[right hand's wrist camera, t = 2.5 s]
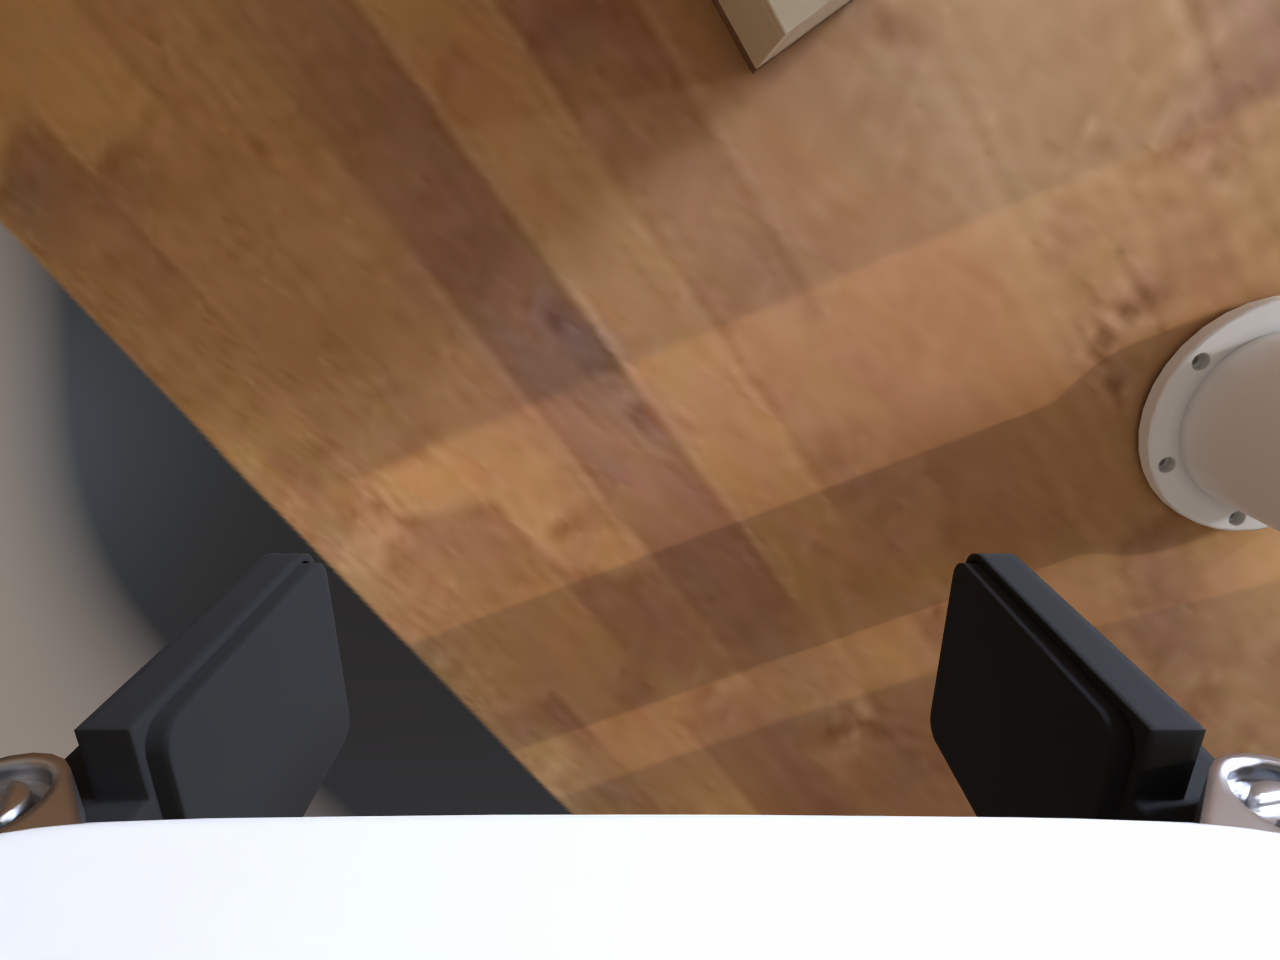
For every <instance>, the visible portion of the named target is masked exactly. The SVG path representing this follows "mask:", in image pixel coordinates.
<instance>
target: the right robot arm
mask: <svg viewBox="0 0 1280 960" xmlns="http://www.w3.org/2000/svg"><path fill="white" fill-rule="evenodd" d="M1138 451H1139V456H1140V461H1141V465H1142V470H1143V472H1144V474H1145V477H1146V479H1147V481H1148V483H1149V485H1150V487H1151V488H1152V490H1153V491H1154V492H1155V493H1156V494H1157V496H1158V497H1159V498H1160V499H1161V501H1162V502H1164V503H1165V504H1166V505H1168V506H1169V507H1170V508H1172V509H1173V510H1174V511H1176V512H1177V513H1179V514H1181V515H1182V516H1184V517H1186V518H1188V519H1190V520H1192V521H1194V522H1195V523H1198V524H1201V525H1204V526H1208V527H1211V528H1214V529H1220V530H1227V531H1246V530H1259V529H1263V528H1268V527H1272V528H1274V529H1276V530H1278V531H1280V295H1279V296H1272V297H1268V298H1264V299H1260V300H1256V301H1253V302H1249V303H1247V304H1245V305H1242V306H1240V307H1238V308H1235V309H1233V310H1231V311H1229V312H1226V313H1224V314H1223V315H1221V316H1220V317H1218V318H1217V319H1215V320H1213V321H1212V322H1210V323H1209V324H1207V325H1206V326H1204V327H1203V328H1201V329H1200V330H1199V331H1198V332H1197V333H1196V334H1194V335H1193V336H1192V337H1191V338H1190V339H1189V340H1188V341H1186V342H1185V343H1184V344H1183V345H1182V346H1181V347H1180V348H1179V350H1178V351H1177V352H1176V353H1175V354H1174V355H1173V357H1172V358H1171V359H1170V360H1169V361H1168V363H1167V364H1166V365H1165V366H1164V368H1163V370H1162V371H1161V373H1160V375H1159V376H1158V378H1157V379H1156V381H1155V383H1154V384H1153V386H1152V388H1151V391H1150V393H1149V396H1148V398H1147V400H1146V403H1145V405H1144V408H1143V412H1142V417H1141V422H1140V426H1139V449H1138ZM349 721H350V717H349V709H348V702H347V696H346V690H345V684H344V677H343V671H342V665H341V659H340V653H339V647H338V640H337V634H336V628H335V622H334V616H333V609H332V603H331V597H330V591H329V585H328V578H327V573H326V569H325V567H324V566H323V565H322V564H321V563H314V560H313V559H312V557H311V556H310V555H309V554H266V555H264V556H263V557H262V558H261V559H260V560H258V561H257V562H256V563H255V564H254V565H253V566H252V567H251V568H250V569H249V570H248V571H247V572H245V573H244V574H243V575H242V576H241V577H240V578H239V579H238V580H237V581H236V582H235V583H234V584H232V585H231V586H230V587H229V588H228V589H227V590H226V591H225V592H224V593H223V594H222V595H220V596H219V597H218V598H217V599H216V600H215V601H214V602H213V603H212V604H211V605H210V606H209V607H207V608H206V609H205V610H204V611H203V612H202V613H201V614H200V615H199V616H198V617H197V618H195V619H194V620H193V621H192V622H191V623H190V624H189V625H188V626H187V627H186V628H185V629H184V630H182V631H181V632H180V633H179V634H178V635H177V636H176V637H175V638H174V639H173V640H172V641H170V642H169V643H168V644H167V645H166V646H165V647H164V648H163V649H162V650H161V651H160V652H159V653H157V654H156V655H155V656H154V657H153V658H152V659H151V660H150V661H149V662H148V663H147V664H146V665H144V666H143V667H142V668H141V669H140V670H139V671H138V672H137V673H136V674H135V675H134V676H132V677H131V678H130V679H129V680H128V681H127V682H126V683H125V684H124V685H123V686H122V687H121V688H119V689H118V690H117V691H116V692H115V693H114V694H113V695H112V696H111V697H110V698H109V699H107V700H106V701H105V702H104V703H103V704H102V705H101V706H100V707H99V708H98V709H97V710H96V711H94V712H93V713H92V714H91V715H90V716H89V717H88V718H87V719H86V720H85V721H84V722H82V723H81V724H80V725H79V726H78V727H77V728H76V729H75V730H74V731H75V734H76V738H77V741H78V744H79V746H78V747H77V748H76V749H75V750H74V751H73V752H72V753H71V754H70V755H69V756H68V757H67V758H66V759H63V758H61V757H58V756H56V755H53V754H46V753H27V754H20V755H12V756H7V757H4V758H0V960H1280V758H1276V757H1273V756H1268V755H1261V754H1253V753H1234V754H1227V755H1224V756H1222V757H1219V758H1217V759H1214V758H1213V757H1212V756H1211V755H1210V754H1209V753H1208V752H1207V751H1206V750H1205V749H1204V748H1203V747H1202V746H1201V744H1202V741H1203V738H1204V734H1205V731H1206V730H1205V729H1204V728H1203V727H1202V726H1201V725H1200V724H1199V723H1198V722H1196V721H1195V720H1194V719H1193V718H1192V717H1191V716H1190V715H1189V714H1188V713H1187V712H1186V711H1184V710H1183V709H1182V708H1181V707H1180V706H1179V705H1178V704H1177V703H1176V702H1175V701H1174V700H1173V699H1171V698H1170V697H1169V696H1168V695H1167V694H1166V693H1165V692H1164V691H1163V690H1162V689H1161V688H1159V687H1158V686H1157V685H1156V684H1155V683H1154V682H1153V681H1152V680H1151V679H1150V678H1149V677H1148V676H1146V675H1145V674H1144V673H1143V672H1142V671H1141V670H1140V669H1139V668H1138V667H1137V666H1136V665H1135V664H1133V663H1132V662H1131V661H1130V660H1129V659H1128V658H1127V657H1126V656H1125V655H1124V654H1123V653H1121V652H1120V651H1119V650H1118V649H1117V648H1116V647H1115V646H1114V645H1113V644H1112V643H1111V642H1110V641H1108V640H1107V639H1106V638H1105V637H1104V636H1103V635H1102V634H1101V633H1100V632H1099V631H1098V630H1096V629H1095V628H1094V627H1093V626H1092V625H1091V624H1090V623H1089V622H1088V621H1087V620H1086V619H1085V618H1083V617H1082V616H1081V615H1080V614H1079V613H1078V612H1077V611H1076V610H1075V609H1074V608H1073V607H1071V606H1070V605H1069V604H1068V603H1067V602H1066V601H1065V600H1064V599H1063V598H1062V597H1061V596H1060V595H1058V594H1057V593H1056V592H1055V591H1054V590H1053V589H1052V588H1051V587H1050V586H1049V585H1048V584H1047V583H1045V582H1044V581H1043V580H1042V579H1041V578H1040V577H1039V576H1038V575H1037V574H1036V573H1035V572H1033V571H1032V570H1031V569H1030V568H1029V567H1028V566H1027V565H1026V564H1025V563H1024V562H1023V561H1022V560H1020V559H1019V558H1018V557H1017V556H1016V555H1014V554H971V555H970V556H969V557H968V559H967V560H966V563H959V564H958V565H956V567H955V569H954V573H953V578H952V585H951V591H950V597H949V603H948V609H947V616H946V622H945V628H944V634H943V640H942V646H941V653H940V659H939V665H938V671H937V677H936V684H935V690H934V696H933V702H932V708H931V716H930V721H931V730H932V734H933V737H934V739H935V742H936V744H937V745H938V747H939V749H940V751H941V753H942V754H943V756H944V758H945V760H946V762H947V763H948V765H949V767H950V769H951V771H952V772H953V774H954V776H955V778H956V780H957V781H958V783H959V785H960V787H961V789H962V790H963V792H964V794H965V796H966V798H967V799H968V801H969V803H970V805H971V807H972V808H973V810H974V812H975V814H976V816H977V817H919V816H809V815H449V816H363V817H303V815H304V814H305V812H306V810H307V808H308V806H309V805H310V803H311V801H312V799H313V798H314V796H315V794H316V792H317V790H318V789H319V787H320V785H321V783H322V781H323V779H324V778H325V776H326V774H327V772H328V770H329V769H330V767H331V765H332V763H333V761H334V760H335V758H336V756H337V754H338V752H339V751H340V749H341V747H342V745H343V744H344V742H345V739H346V737H347V734H348V730H349Z"/></svg>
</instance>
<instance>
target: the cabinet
mask: <svg viewBox="0 0 1280 960" xmlns="http://www.w3.org/2000/svg"><path fill="white" fill-rule="evenodd" d="M712 1H713V3H714V5H715V7H716V8H717V10H718V12H719V14H720V16H721V17H722V19H723V21H724V23H725V25H726V26H727V28H728V30H729V32H730V34H731V35H732V37H733V39H734V41H735V43H736V44H737V46H738V48H739V50H740V52H741V54H742V55H743V57H744V59H745V61H746V63H747V64H748V66H749V68H750V70H751V72H752V73H754V72H756V71H757V70H758V69H760V68H761V67H762V66H764V65H765V64H767V63H768V62H769V61H771V60H772V59H773V58H775V57H776V56H777V55H779V54H780V53H781V52H783V51H784V50H786V49H787V48H788V47H790V46H791V45H792V44H794V43H795V42H796V41H798V40H799V39H800V38H802V37H803V36H805V35H806V34H807V33H809V32H810V31H811V30H813V29H814V28H815V27H817V26H818V25H819V24H821V23H822V22H823V21H825V20H826V19H828V18H829V17H830V16H832V15H833V14H834V13H836V12H837V11H838V10H840V9H841V8H842V7H844V6H845V5H847V4H848V3H849V2H851V1H852V0H712Z"/></svg>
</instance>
